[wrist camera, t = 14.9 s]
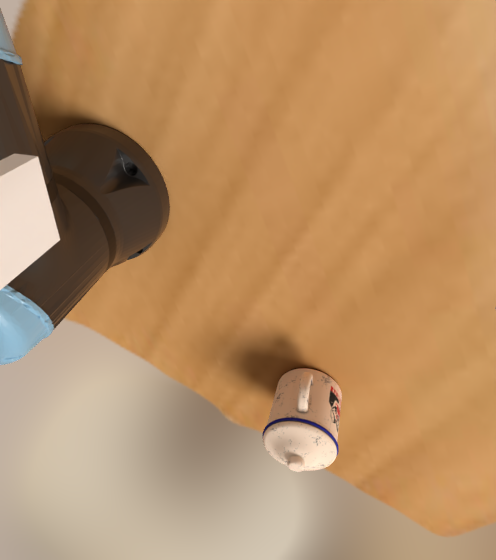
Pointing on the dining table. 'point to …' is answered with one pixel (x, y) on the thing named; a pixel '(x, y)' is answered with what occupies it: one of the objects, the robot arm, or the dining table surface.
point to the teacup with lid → (304, 420)
